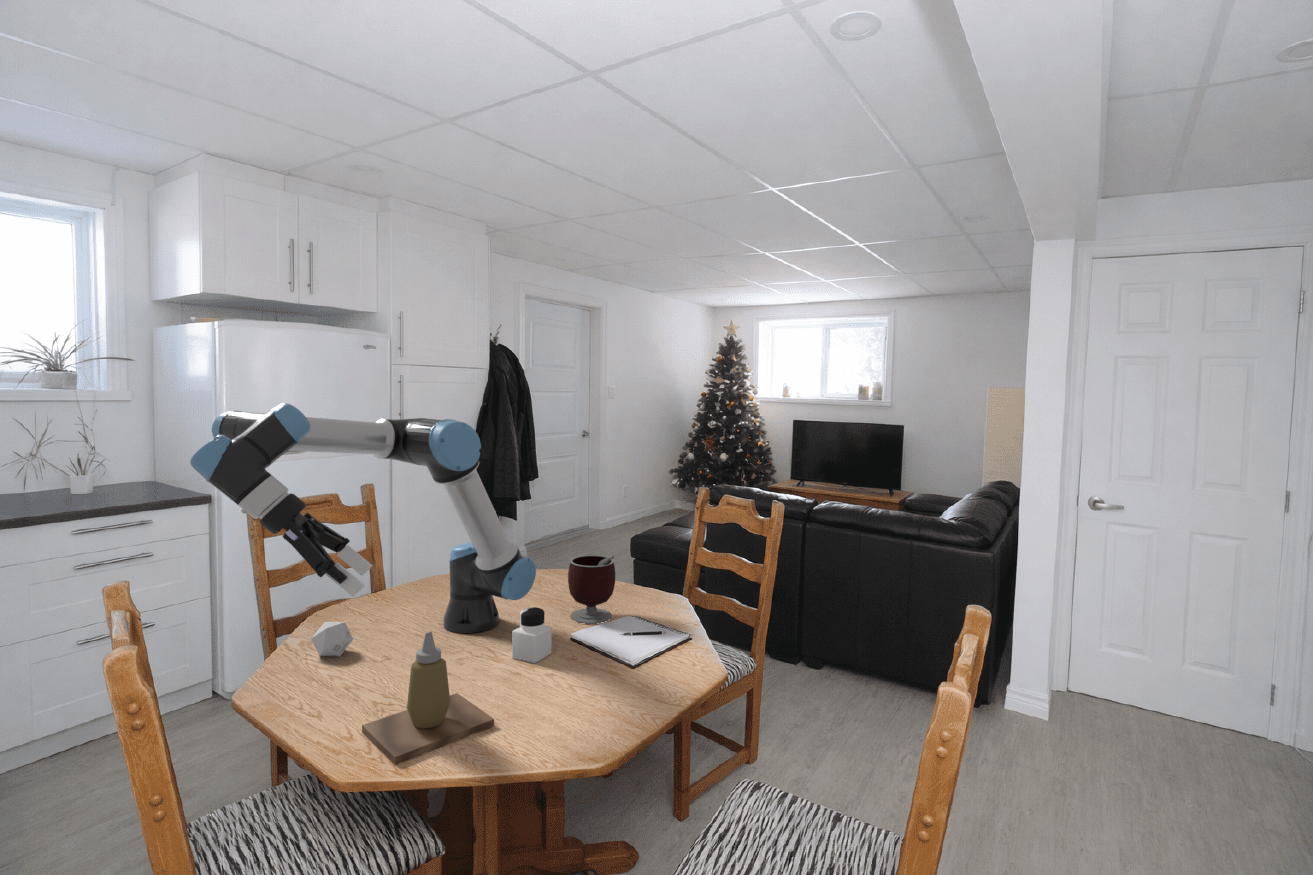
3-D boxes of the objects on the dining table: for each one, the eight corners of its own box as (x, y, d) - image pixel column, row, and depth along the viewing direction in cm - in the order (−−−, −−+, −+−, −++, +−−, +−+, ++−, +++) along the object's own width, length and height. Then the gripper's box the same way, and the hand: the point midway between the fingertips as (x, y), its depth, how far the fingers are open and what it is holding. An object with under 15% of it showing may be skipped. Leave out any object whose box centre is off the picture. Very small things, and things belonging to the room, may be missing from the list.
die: (325, 666, 157) (351, 631, 159) (297, 646, 158) (324, 611, 160) (340, 665, 165) (365, 631, 167) (314, 645, 166) (339, 612, 168)
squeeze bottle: (413, 711, 132) (413, 625, 130) (454, 711, 133) (454, 624, 131) (401, 732, 124) (400, 640, 122) (444, 732, 125) (444, 640, 123)
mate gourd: (557, 617, 192) (558, 550, 191) (591, 606, 203) (592, 542, 201) (594, 630, 182) (595, 560, 181) (628, 618, 193) (629, 552, 191)
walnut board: (457, 699, 141) (457, 692, 140) (494, 725, 130) (494, 718, 130) (362, 732, 126) (362, 725, 126) (394, 765, 116) (394, 757, 116)
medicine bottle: (551, 653, 166) (552, 607, 165) (535, 664, 160) (535, 616, 159) (528, 648, 169) (529, 603, 168) (511, 658, 163) (511, 611, 162)
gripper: (274, 508, 131) (356, 576, 137) (238, 535, 108) (338, 616, 114) (303, 481, 133) (383, 550, 138) (273, 503, 109) (371, 584, 115)
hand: (363, 580), depth 126 cm, fingers open, 13 cm apart
